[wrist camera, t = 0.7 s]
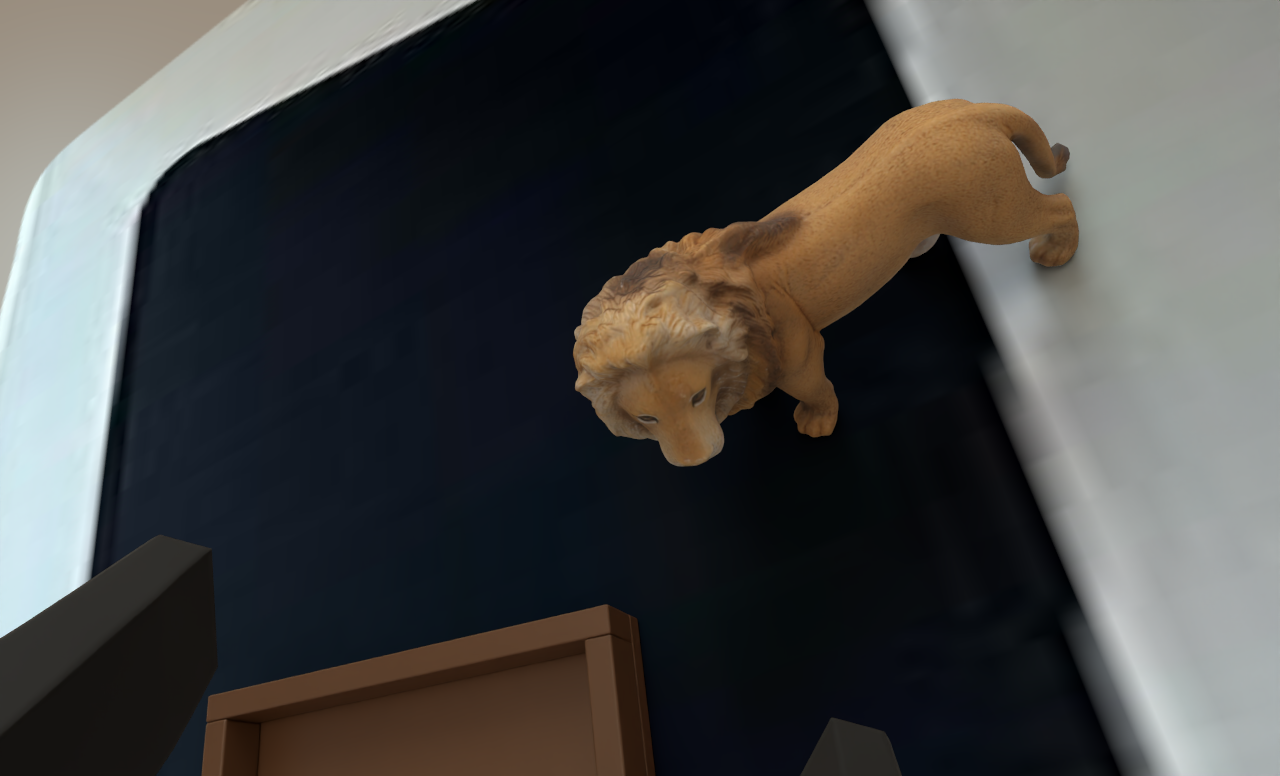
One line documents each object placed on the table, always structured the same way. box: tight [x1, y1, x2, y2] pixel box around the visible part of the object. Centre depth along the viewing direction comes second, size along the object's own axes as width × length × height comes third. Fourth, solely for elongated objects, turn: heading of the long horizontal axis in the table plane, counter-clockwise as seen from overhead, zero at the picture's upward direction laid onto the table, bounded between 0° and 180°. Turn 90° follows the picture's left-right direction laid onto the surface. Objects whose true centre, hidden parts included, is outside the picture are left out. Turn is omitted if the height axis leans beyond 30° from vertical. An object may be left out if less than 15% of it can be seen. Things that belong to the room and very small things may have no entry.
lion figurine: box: [573, 99, 1079, 466], centre depth 24 cm, size 15×5×9 cm, turn 128°
